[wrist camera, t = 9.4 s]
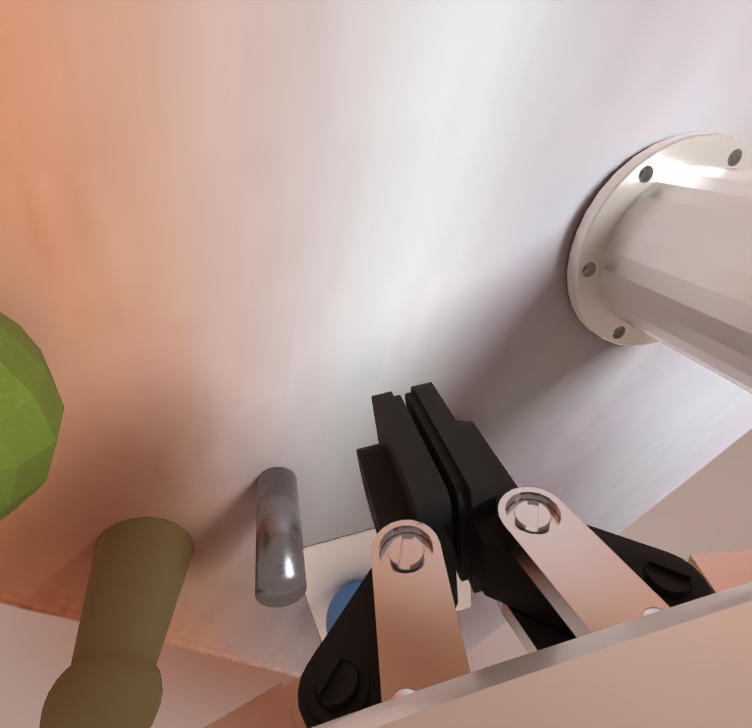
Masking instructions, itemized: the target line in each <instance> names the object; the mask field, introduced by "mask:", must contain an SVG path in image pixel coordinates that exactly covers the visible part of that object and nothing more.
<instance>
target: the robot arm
mask: <svg viewBox="0 0 752 728" xmlns="http://www.w3.org/2000/svg"><path fill="white" fill-rule="evenodd" d="M567 285H568V294H569V297H570V301H571V305H572V308H573V310H574V311H575V313H576V315H577V317H578V319H579V320H580V321H581V322H582V323H583V324H584V325H585V326H586V328H587V329H588V330H590V331H592V332H593V333H595V334H596V335H598V336H599V337H600V338H602V339H604V340H606V341H608V342H610V343H613V344H619V345H625V346H639V345H647V344H651V343H655V342H661V343H663V344H665V345H666V346H668V347H670V348H672V349H673V350H675V351H677V352H679V353H681V354H682V355H684V356H686V357H688V358H689V359H691V360H693V361H695V362H697V363H698V364H700V365H702V366H704V367H705V368H707V369H709V370H711V371H713V372H714V373H716V374H718V375H720V376H721V377H723V378H725V379H727V380H729V381H730V382H732V383H734V384H736V385H737V386H739V387H741V388H743V389H744V390H746V391H748V392H750V393H752V151H751V150H750V149H749V147H748V146H747V145H746V144H744V143H742V142H740V141H739V140H737V139H735V138H733V137H731V136H726V135H722V134H717V133H689V134H683V135H677V136H673V137H671V138H668V139H666V140H663V141H661V142H658V143H656V144H653V145H652V146H650V147H649V148H647V149H645V150H644V151H642V152H641V153H639V154H637V155H636V156H634V157H633V158H632V159H631V160H629V161H628V162H627V163H626V164H625V165H624V166H623V167H621V168H620V169H619V170H618V171H617V172H616V173H615V174H614V175H613V176H612V177H611V178H610V179H609V181H608V182H607V183H606V184H605V185H604V186H603V187H602V189H601V190H600V191H599V192H598V194H597V195H596V197H595V199H594V200H593V202H592V203H591V205H590V206H589V208H588V209H587V211H586V213H585V215H584V217H583V219H582V221H581V223H580V225H579V227H578V229H577V231H576V234H575V238H574V241H573V244H572V247H571V251H570V255H569V262H568V269H567ZM405 401H406V405H405V403H404V401H403V399H402V397H401V396H400V395H397V396H393V394H392V392H387V393H383V394H379V395H374V396H372V404H373V410H374V416H375V422H376V428H377V434H378V441H379V444H376V445H372V446H368V447H364V448H360V449H357V456H358V462H359V467H360V471H361V476H362V481H363V485H364V489H365V493H366V497H367V501H368V504H369V508H370V512H371V515H372V519H373V523H374V526H375V530H376V533H377V535H376V536H375V539H374V541H373V543H372V548H371V560H372V567H371V569H370V570H369V572H368V573H367V575H366V576H365V578H364V579H363V581H362V582H361V584H360V586H359V587H358V589H357V590H356V592H355V593H354V595H353V596H352V598H351V599H350V601H349V602H348V604H347V605H346V607H345V608H344V610H343V611H342V613H341V614H340V616H339V617H338V619H337V620H336V622H335V623H334V625H333V626H332V628H331V629H330V631H329V632H328V634H327V635H326V637H325V638H324V640H323V641H322V643H321V644H320V646H319V647H318V649H317V650H316V652H315V653H314V655H313V656H312V658H311V660H310V661H309V663H308V664H307V666H306V668H305V670H304V672H303V674H302V676H301V677H299V678H297V679H295V680H294V681H292V682H290V683H289V684H287V685H286V686H284V687H283V686H282V684H281V683H279V684H277V685H276V686H274V687H273V688H271V689H269V690H267V691H266V692H264V693H262V694H261V695H259V696H257V697H255V698H254V699H252V700H250V701H249V702H247V703H245V704H244V705H242V706H240V707H239V708H237V709H235V710H234V711H232V712H230V713H228V714H227V715H225V716H224V717H222V718H220V719H218V720H216V721H215V722H213V723H211V724H210V725H208V726H206V727H205V728H752V551H736V552H721V553H703V554H690V557H689V559H686V560H684V559H682V558H680V557H677V556H675V555H673V554H671V553H668V552H665V551H663V550H660V549H657V548H654V547H651V546H648V545H645V544H642V543H639V542H636V541H633V540H630V539H627V538H624V537H621V536H618V535H615V534H613V533H610V532H607V531H604V530H601V529H598V528H595V527H592V526H589V525H586V524H585V523H584V522H583V521H582V520H580V519H579V518H578V517H577V516H576V515H575V514H574V513H573V512H572V511H571V510H570V509H569V508H568V507H567V506H566V505H565V504H564V503H563V502H562V501H561V500H560V499H559V498H557V497H556V496H555V495H553V494H552V493H550V492H548V491H545V490H543V489H540V488H535V487H519V488H518V487H517V485H516V484H515V482H514V481H513V480H512V478H511V477H510V475H509V474H508V472H507V471H506V469H505V468H504V467H503V465H502V464H501V462H500V461H499V459H498V458H497V456H496V455H495V454H494V452H493V451H492V449H491V448H490V446H489V445H488V443H487V442H486V441H485V439H484V438H483V436H482V435H481V433H480V432H479V430H478V429H477V428H476V426H475V425H474V424H473V423H472V422H471V421H468V422H464V423H460V424H458V423H457V421H456V420H455V418H454V417H453V415H452V413H451V412H450V410H449V409H448V407H447V406H446V404H445V403H444V401H443V399H442V398H441V396H440V395H439V393H438V392H437V390H436V389H435V387H434V385H433V384H432V383H431V382H429V383H425V384H421V385H417V386H412V387H411V392H410V393H406V394H405ZM456 572H457V574H458V576H459V578H460V580H461V581H466V580H468V581H469V583H470V585H471V587H472V590H473V592H474V593H476V592H480V591H483V592H484V594H485V595H486V596H488V597H491V598H493V599H495V600H497V604H498V606H499V608H500V610H501V612H502V614H503V615H504V617H505V618H506V620H507V621H508V623H509V624H510V626H511V627H512V629H513V630H514V632H515V633H516V635H517V636H518V638H519V639H520V641H521V643H522V644H523V645H524V647H525V649H526V650H527V651H528V653H529V654H526V655H523V656H520V657H517V658H514V659H511V660H508V661H505V662H502V663H499V664H496V665H493V666H490V667H487V668H484V669H481V670H478V671H475V672H472V673H470V669H469V664H468V660H467V656H466V652H465V647H464V643H463V639H462V634H461V630H460V626H459V622H458V617H457V613H456V606H457V604H458V591H457V574H456Z"/></svg>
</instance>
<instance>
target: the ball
mask: <svg viewBox="0 0 752 728" xmlns="http://www.w3.org/2000/svg"><path fill="white" fill-rule="evenodd" d="M361 582H362V581H355V582H352V583H349V584H347V585H346V586H344V587H342V588H341V589H340V590H339V591H338V592H337V593H336V594H335V596H334V597H333V599H332V600H331V602H330V605H329V607H328V611H327V615H326V630H327V634H328V632H329V631H330V629H331V628H332V626H333V625H334V623H335V622H336V620H337V619H338V617H339V616H340V614H341V613H342V611H343V610H344V608H345V607H346V605H347V604H348V602H349V601H350V599H351V598H352V596H353V595H354V593H355V592H356V590H357V589H358V587H359V586H360V584H361Z"/></svg>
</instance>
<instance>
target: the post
mask: <svg viewBox="0 0 752 728" xmlns="http://www.w3.org/2000/svg"><path fill="white" fill-rule="evenodd" d="M306 589H307V584H306V573H305V563H304V553H303V542H302V532H301V521H300V511H299V500H298V490H297V479H296V476H295V474H294V473H293V472H292V471H291V470H289V469H287V468H283V467H275V468H271V469H268V470H266V471H264V472H263V473H262V474H261V475H260V476H259V477H258V480H257V506H256V578H255V596H256V599H257V600H258V601H259V602H260V603H261V604H263V605H265V606H269V607H282V606H287V605H290V604H292V603H294V602H296V601H298V600H299V599H300V598H302V597H303V595H304V594H305V592H306Z"/></svg>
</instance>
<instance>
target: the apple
mask: <svg viewBox="0 0 752 728" xmlns="http://www.w3.org/2000/svg"><path fill="white" fill-rule="evenodd" d="M63 410H64V405H63V403H62V400H61V398H60V395H59V393H58V390H57V388H56V385H55V383H54V380H53V378H52V375H51V373H50V371H49V368H48V366H47V364H46V361H45V359H44V357H43V355H42V352H41V350H40V349H39V348H38V346H37V345H36V344H35V343H34V342H33V341H32V339H31V338H30V337H29V336H28V335H27V333H26V332H25V331H24V330H23V329H22V327H21V326H20V325H19V324H17V323H16V322H14V321H13V320H11V319H10V318H8V317H6V316H5V315H3V314H2V313H0V520H1V519H3V518H4V517H5V516H7V515H8V514H9V513H11V512H12V511H13V510H14V509H15V508H17V507H18V506H19V505H20V504H21V503H22V502H23V501H24V500H26V499H27V498H28V497H29V496H30V495H31V494H32V493H33V492H35V491H36V490H37V489H38V488H39V487H40V486H41V485H42V484H44V483H45V482H46V479H47V475H48V472H49V468H50V464H51V460H52V457H53V453H54V449H55V445H56V442H57V437H58V433H59V428H60V424H61V419H62V415H63Z"/></svg>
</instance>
